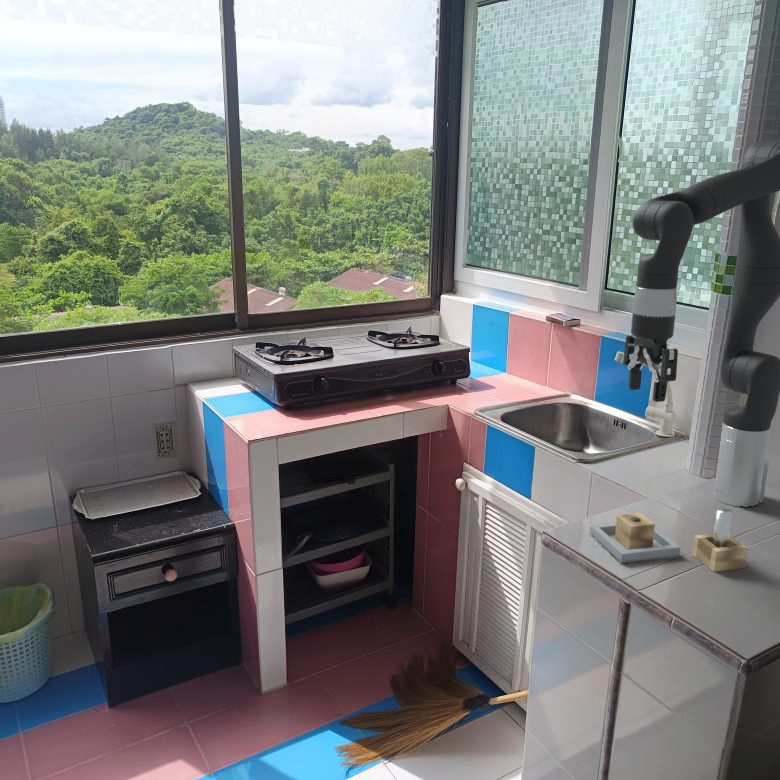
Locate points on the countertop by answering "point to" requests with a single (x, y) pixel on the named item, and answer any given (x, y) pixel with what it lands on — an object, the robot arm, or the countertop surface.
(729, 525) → the cylinder
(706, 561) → the oak block
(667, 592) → the countertop surface
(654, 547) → the tray
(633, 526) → the block
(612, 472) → the countertop surface
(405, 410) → the countertop surface
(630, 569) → the countertop surface
